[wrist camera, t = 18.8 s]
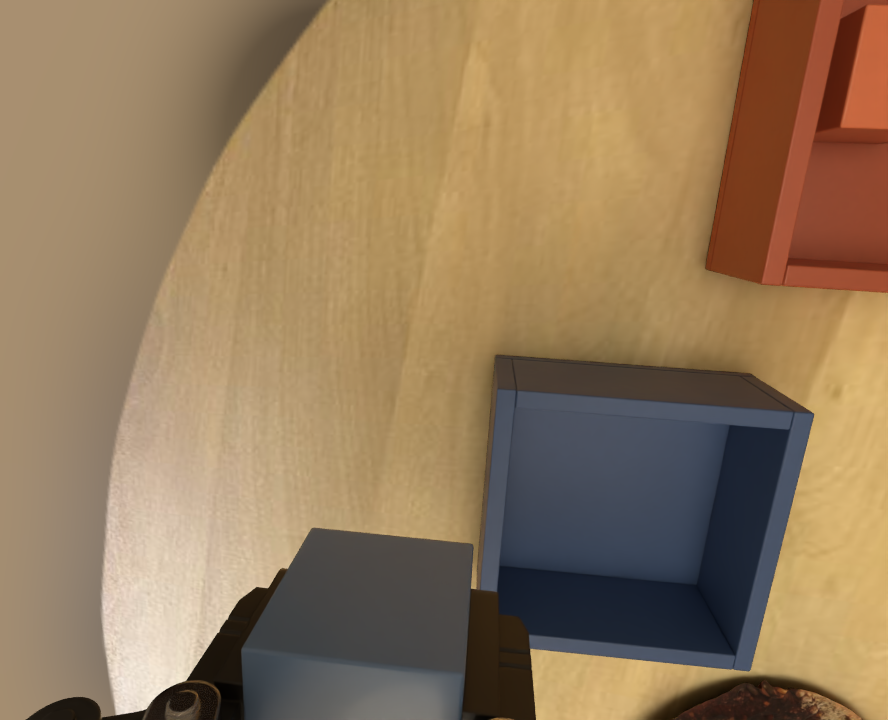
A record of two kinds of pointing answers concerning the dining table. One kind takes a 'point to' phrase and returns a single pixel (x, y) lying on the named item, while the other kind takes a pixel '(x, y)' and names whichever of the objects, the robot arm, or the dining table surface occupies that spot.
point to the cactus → (768, 705)
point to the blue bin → (637, 507)
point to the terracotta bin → (798, 165)
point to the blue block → (363, 632)
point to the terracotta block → (857, 81)
